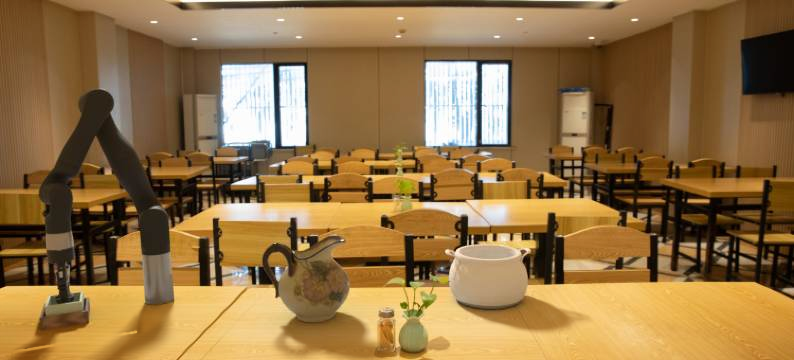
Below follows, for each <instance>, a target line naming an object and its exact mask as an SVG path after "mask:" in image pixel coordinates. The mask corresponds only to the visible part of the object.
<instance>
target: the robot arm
mask: <svg viewBox="0 0 794 360" xmlns="http://www.w3.org/2000/svg"><path fill="white" fill-rule="evenodd" d="M77 105H78V109H79V112H80V114H81V115H80V117H79V120H78V121H77V124H76V126H75V128H74V129H73V131H72V133H71V135H70V136H69V138H68V139H67V140H66V143H64V145H63V146H62V149H61V151H60V152H59V155H58V157H57V159H56V162H55V163H54V164H55V165H54V167H52V169H51V170H50V172H48V174H47V175H46V177H45V178H44V180H43V181H42V183H40V186H39V189H38V198H39V200H40V201H41V202H42V204H45V205H49V213H48V214H47V215H46V216H45V218H44V228H45V245H46V246H45V247H46V248H45V249H46V257H47V262H48V263H49V264H52V265H53V264H56V266H55V268H54V274H55V281H56V283H57V285H58V286H57V285H56V287H57V288H56V289H57V290H58V294H59V293H60V301H61V302H64V301H68V285H67V282H69V283H70V277H71V272H70V271H71V266H70V264H69V262H72V261H74V260H75V259H76V254H75V253H76V252H75V244H74V243H75V241H74V236H73V230H72V220H71V216H72V211H73V202H74V195H73V191H72V189H71V187H70V186H69V185H68V184H69V182H70V181H71V180H73V179H76V178H77V177H78V176H79V173H80V171H81V169H82V167H83V164H84V162H85V160H86V158H87V155H88V153H89V150H90V148H91V146H92V144H93V142H94V140H95V137H96V139H97V141H98V143H99V146H100V148H101V150H102V152H103V154H104V156H105V158H106V160H107V163H108V165H109V166H110V168H111V170H112V172H113V175H114V176H115V177H116V179H117V181H118V183H119V184H120V185H121V186H122V188H123V190H125V192H126V193H127V194H128V196H129V198H130V199H131V201H132V203H133V205H134V208H135V210H136V214H137V215H138V223H139V224H138V225H139V226H138V227H139V237H140V238H139V239H140V250H141V251H140V252H141V262H142V276H143V277H142V278H143V291H144V302H145V304H146V305H150V306H151V305H153V306H154V305H164V304H167V303H170V302H174V301H175V290H174V278H173V277H174V275H173V270H172V256H171V252H172V251H171V238H170V237H171V236H170V234H171V233H170V221H169V220H170V219H169V215H168V213H167V211H166V209H165V208H164V207H163V204H162V203H161V202H160V201H159V199H158V197H157V196H156V194H155V192H154V190H153V188H152V187H151V183H150V181H149V178H148V175H147V172H146V170H145V167H144V164H143V163H142V161H141V159H140V157H139V155H138V153H137V151H136V149H135V148H134V146H133V145H132V144H131V142H130V141H128V139H127V138H126V137H125V136H124V135H123V133H121V131H120V129H119V128H118V127H117V125H116V123H115V121H114V119H113V116H112V113H111V112H112V111H113V110H114V107H115V99H114V97H113V95H112V94H111V92H110V91H108V90H107V89H104V88H93V89H90V90H88V91H86V92H85V93H83V94H81V96H80V97H79V98H78V103H77ZM63 282H64V283H65V285H62V286H60V283H63Z"/></svg>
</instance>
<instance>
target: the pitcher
mask: <svg viewBox="0 0 794 360" xmlns="http://www.w3.org/2000/svg"><path fill="white" fill-rule="evenodd" d="M345 243H346V239H345V238H344V237H343V236H341V235H338V234H331V235H328V236H326V237H323V238H322V239H321V240H319V241H318V242H316V243H315V244H313V245H312V246H309V247H308V248H305V249H304V250H292V249H291V248H290V247H289V246H288V245H286V244H283V243H279V242H274V243H272V244H270V246H268V247H267V248H266V249H265V250H264V252H263V255H262V256H261V257H262V258H261V262H262V268H263V269H264V272H265V273H266V275H267V276H268V278H269V279H270V281H271V282H272V284H273V287H274V289H275V296H274V297H275V299H278V298H280V300H281V301H282V303H283V304H284V305H285V307H286V308H287V309H288V310H289V311H290V312H291V313H292V314H294V315H295V316H296V319H298V320H299V321H302V322H305V323H321V322H322V323H323V322H326V321H329V320H332V319H333V318H334V317H335V316H336V313H337V311H338V310H339V309H340V308H341V307H342V306H343V304H345V302H346V300H347V298H348V296H349V293H350V288H351V285H350V283H351V282H350V278H349V274H347V272H346V270H345V269H344V268H343V266H341V265H340V264H339V263H338V262H337V261H336V260H335V259H334V258H333V256H332V252H333V250H334V249H335V248H336V247H339V246H341V245H344V244H345ZM274 253H275V254H276V253H280V254H282V256H284V258H285V260H286V262H287V267H286V268H285V269H284V270H283V272H282V273H281V275H280V277H279V279H277V277H276V275H275V274H274V271H272V268H271V266H270V264H269V259H270V256H271V255H272V254H274Z"/></svg>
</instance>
